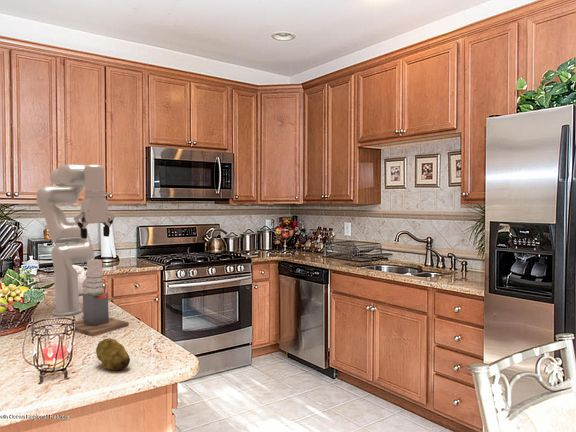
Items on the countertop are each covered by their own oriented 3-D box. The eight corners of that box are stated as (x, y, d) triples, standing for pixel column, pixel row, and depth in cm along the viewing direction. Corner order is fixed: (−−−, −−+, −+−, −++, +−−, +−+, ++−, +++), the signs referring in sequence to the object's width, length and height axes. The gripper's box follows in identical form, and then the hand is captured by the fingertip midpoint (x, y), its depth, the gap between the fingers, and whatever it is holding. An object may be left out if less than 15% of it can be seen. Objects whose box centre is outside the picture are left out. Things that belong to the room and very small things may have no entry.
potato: (102, 376, 131) (102, 349, 130) (94, 363, 142) (93, 338, 141) (131, 370, 135) (131, 344, 135) (121, 357, 146) (121, 333, 146)
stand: (63, 327, 180) (62, 294, 179) (99, 318, 193) (98, 287, 192) (92, 336, 169) (91, 301, 168) (128, 325, 182) (127, 293, 181)
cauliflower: (47, 282, 230) (65, 256, 239) (51, 292, 245) (68, 266, 254) (84, 298, 233) (100, 271, 242) (86, 306, 248) (101, 281, 256)
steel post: (88, 308, 180) (86, 260, 179) (97, 306, 183) (96, 259, 182) (94, 309, 178) (92, 261, 177) (103, 307, 181) (102, 259, 180)
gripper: (108, 195, 190) (109, 235, 191) (68, 195, 176) (69, 238, 177) (119, 195, 185) (119, 236, 186) (79, 195, 171) (80, 239, 172)
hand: (95, 237), depth 182 cm, fingers open, 9 cm apart
